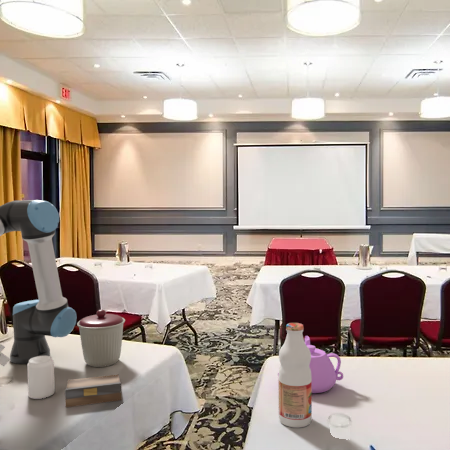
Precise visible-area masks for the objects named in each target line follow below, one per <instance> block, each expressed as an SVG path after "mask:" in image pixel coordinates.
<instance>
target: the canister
mask: <svg viewBox="0 0 450 450" xmlns="http://www.w3.org/2000/svg"><path fill="white" fill-rule="evenodd" d="M125 322H126V319H125V318H124V317H122V316H121V315H118V314H114V313H106V310H105V309H98V310H97V311H96V314H93V315H92V314H91V315H89V316H88V315H87V316H85V317H83V318H81V319H80V320H79V321H77V322H76V325H77V327H78V328H79V337H80V342H81V350H82V355H83V360H84V362H85V363H86V365H87V366H90V367H92V368H103V367H108V366H113V365H114V364H116V363H117V362H118V361H119V360H120V357H121V353H122V352H121V351H122V345H123V344H122V343H123V331H124V324H125Z"/></svg>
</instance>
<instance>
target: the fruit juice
mask: <svg viewBox="0 0 450 450" xmlns="http://www.w3.org/2000/svg"><path fill="white" fill-rule="evenodd" d="M304 329H305V328H304V324H302V323H299V322H289V323H287V324H286V326H285V331H286V333H287V334H286V337H285V340H284V343H283V345H282V346H281V348H280V349H279V351H278V359H279V362H280V364H279V365H280V366H279V368H278V372H279V375H278V374H277V376H278V377H277V378H278V380H277V381H278V419H279V422H280V423H281V424H282V425H284V426H286V427H289V428H295V429H297V428H304V427H307V426H309V425H310V424H311V423H312V418H313V417H312V414H313V413H312V408H313V407H312V404H313V403H312V395H313V393H312V376H311V369H310V367H309V364H310V361H311V352H310V350H309V348H308V347H307V346H306V344H305V338H304V335H303V332H304Z"/></svg>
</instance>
